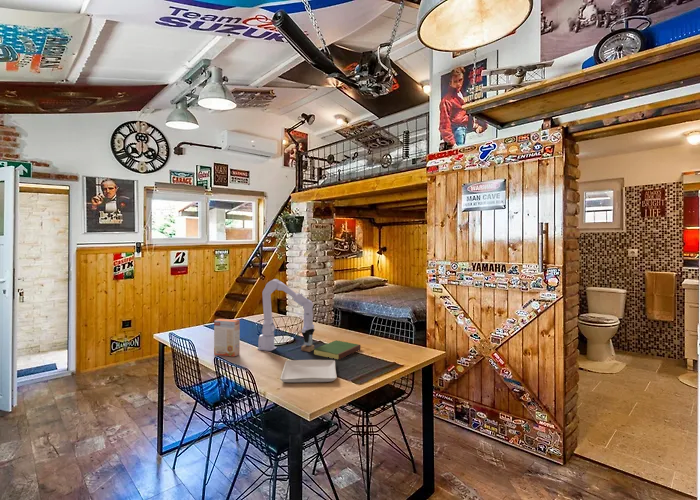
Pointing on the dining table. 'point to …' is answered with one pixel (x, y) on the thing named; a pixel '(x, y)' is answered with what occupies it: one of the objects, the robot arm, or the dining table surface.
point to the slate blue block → (309, 340)
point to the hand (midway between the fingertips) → (307, 341)
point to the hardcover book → (336, 349)
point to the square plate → (309, 371)
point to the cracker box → (227, 337)
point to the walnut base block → (307, 348)
